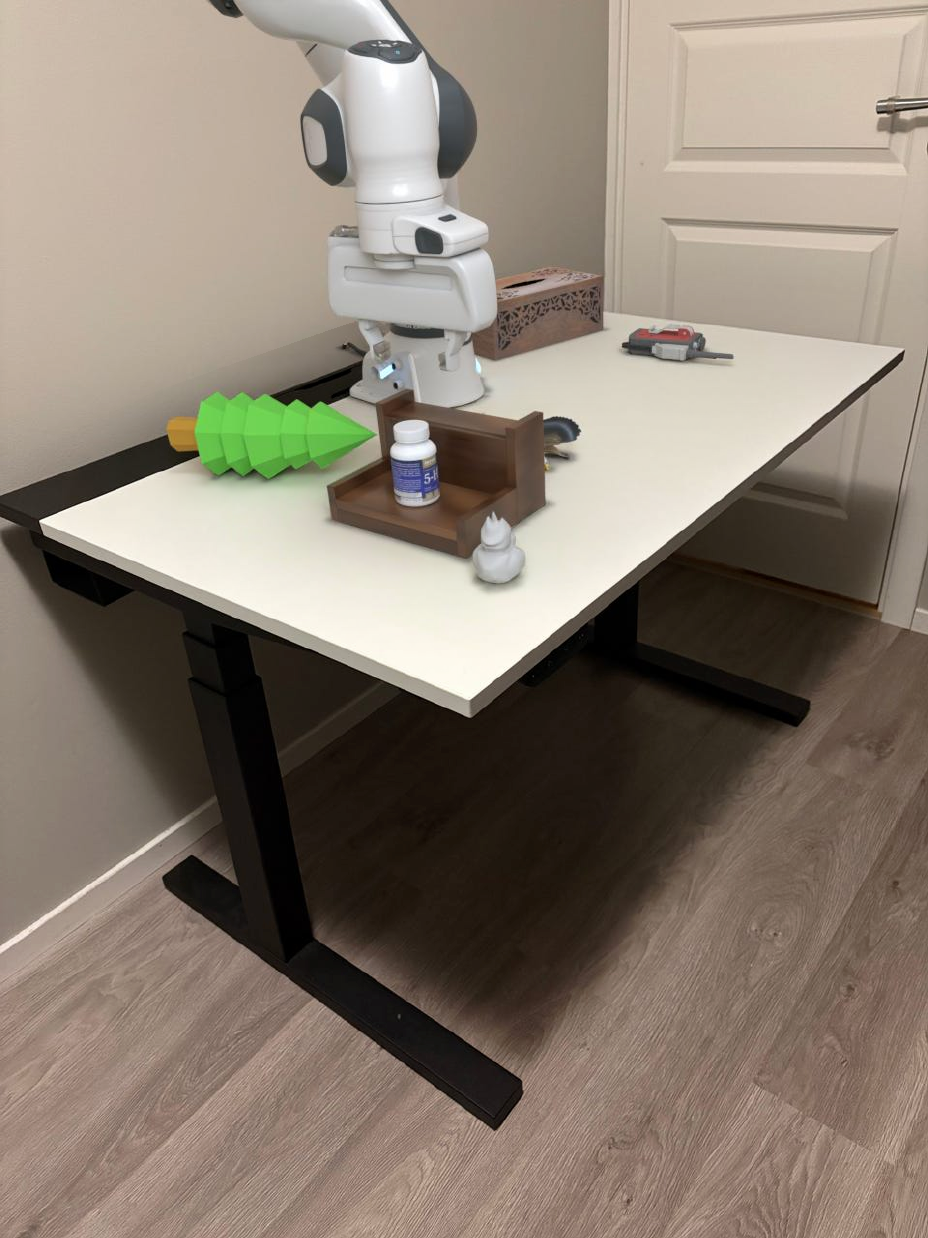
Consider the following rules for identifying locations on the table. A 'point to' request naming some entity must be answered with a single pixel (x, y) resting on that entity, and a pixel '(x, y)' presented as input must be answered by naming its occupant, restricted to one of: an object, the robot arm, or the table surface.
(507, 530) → the rubber duck
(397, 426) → the pill bottle
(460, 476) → the shelf
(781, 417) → the table surface
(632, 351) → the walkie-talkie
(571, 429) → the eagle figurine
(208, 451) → the decorative tree
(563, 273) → the tissue box cover
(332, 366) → the table surface
